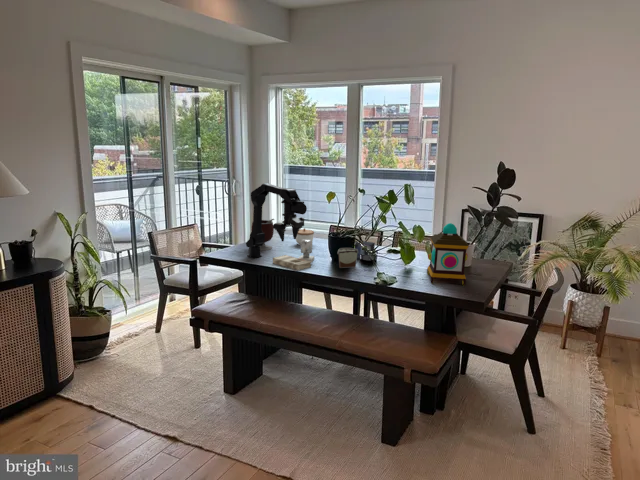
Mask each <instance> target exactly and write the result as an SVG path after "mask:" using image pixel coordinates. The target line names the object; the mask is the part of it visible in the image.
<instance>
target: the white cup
mask: <svg viewBox="0 0 640 480" xmlns="http://www.w3.org/2000/svg"><path fill="white" fill-rule="evenodd" d="M300 253H301V254H302V255H303V258H309V256H310V254H313V241H312V240H310V239H303V240H301V246H300Z"/></svg>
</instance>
